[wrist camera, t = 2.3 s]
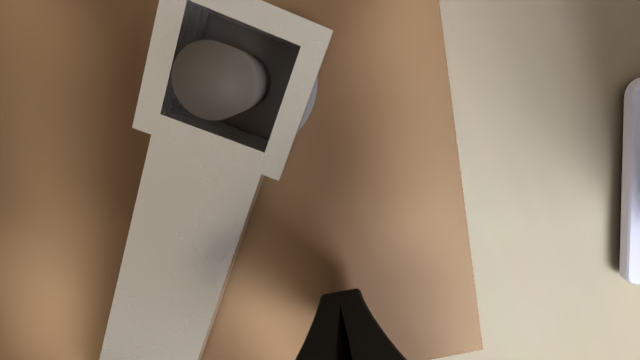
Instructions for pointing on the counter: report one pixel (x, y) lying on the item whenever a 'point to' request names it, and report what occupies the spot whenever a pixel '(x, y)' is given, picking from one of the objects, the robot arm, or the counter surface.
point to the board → (274, 196)
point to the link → (198, 185)
